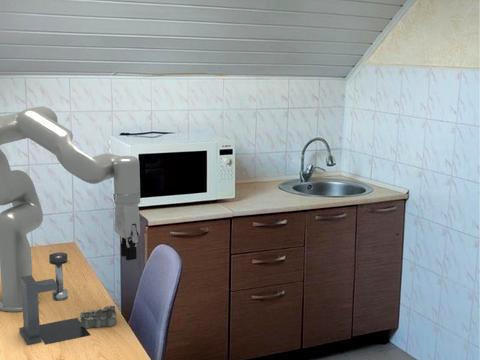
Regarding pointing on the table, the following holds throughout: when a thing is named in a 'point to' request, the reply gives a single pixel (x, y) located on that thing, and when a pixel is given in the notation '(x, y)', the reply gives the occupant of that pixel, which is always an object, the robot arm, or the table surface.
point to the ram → (59, 275)
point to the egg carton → (99, 317)
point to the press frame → (31, 316)
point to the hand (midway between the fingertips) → (128, 257)
